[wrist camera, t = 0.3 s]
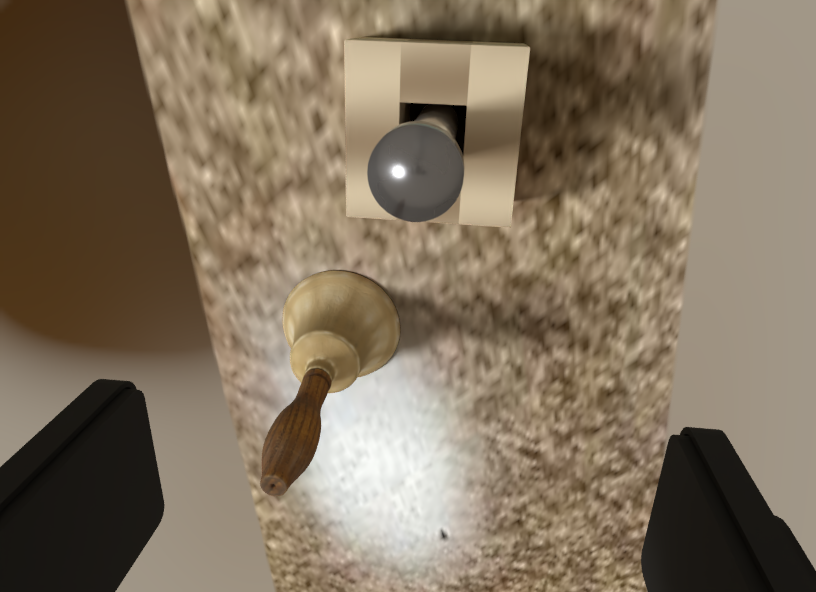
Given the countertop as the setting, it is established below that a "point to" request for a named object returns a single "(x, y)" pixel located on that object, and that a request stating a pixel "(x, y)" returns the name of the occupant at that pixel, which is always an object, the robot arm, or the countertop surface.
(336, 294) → the hand bell
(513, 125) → the hitch block
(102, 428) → the robot arm
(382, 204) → the steel pin
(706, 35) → the countertop surface
